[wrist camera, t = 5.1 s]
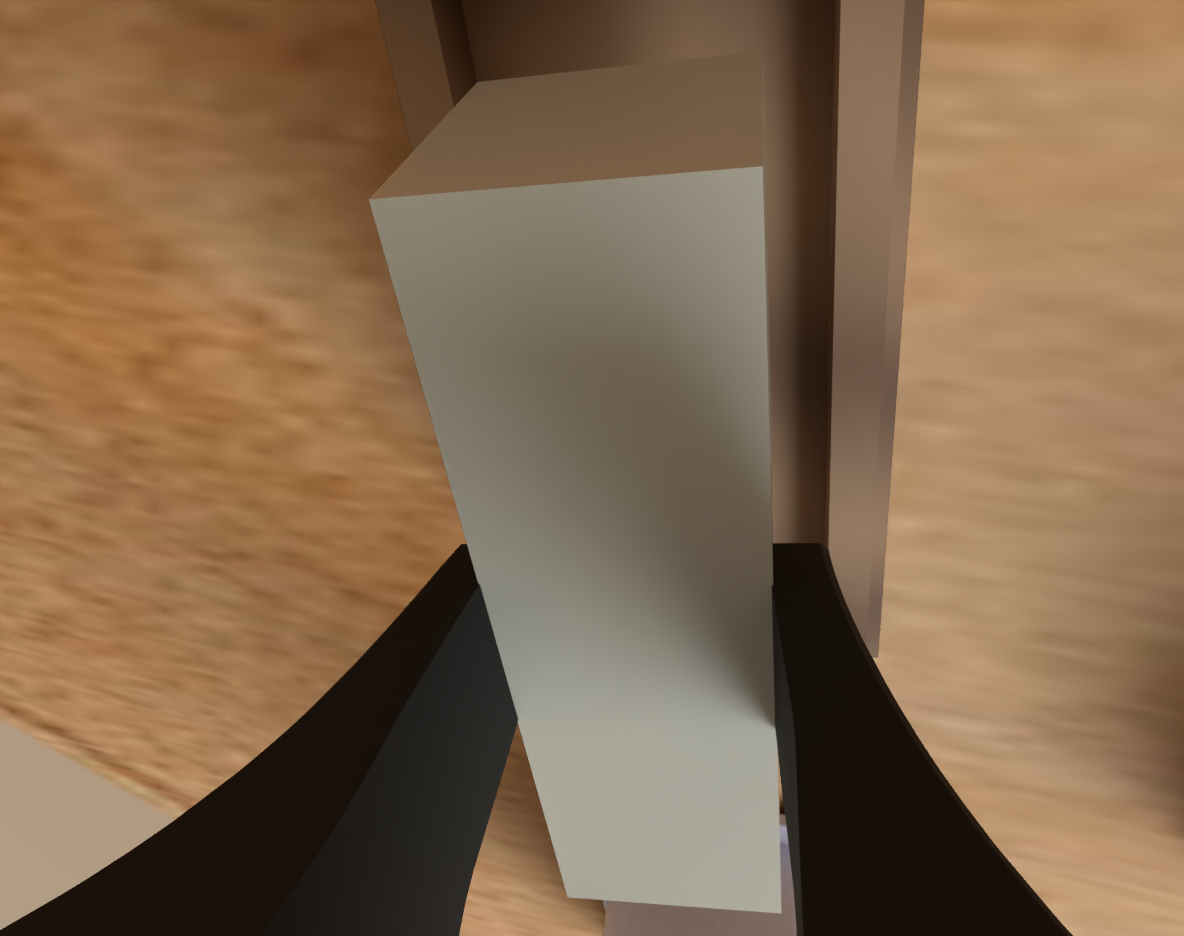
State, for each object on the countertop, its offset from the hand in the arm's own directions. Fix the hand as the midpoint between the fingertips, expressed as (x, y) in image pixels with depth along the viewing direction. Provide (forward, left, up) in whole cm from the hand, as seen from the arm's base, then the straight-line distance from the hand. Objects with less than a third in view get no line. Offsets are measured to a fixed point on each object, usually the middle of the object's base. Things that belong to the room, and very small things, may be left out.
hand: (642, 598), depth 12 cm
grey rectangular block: (0, 0, -3) cm, 3 cm away
